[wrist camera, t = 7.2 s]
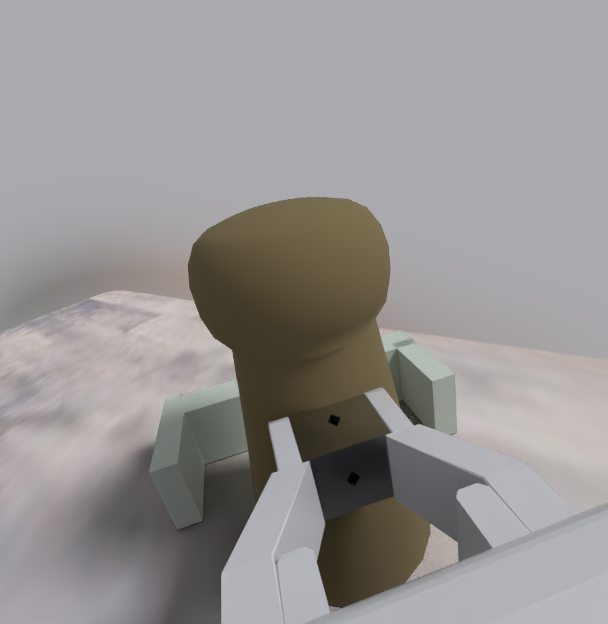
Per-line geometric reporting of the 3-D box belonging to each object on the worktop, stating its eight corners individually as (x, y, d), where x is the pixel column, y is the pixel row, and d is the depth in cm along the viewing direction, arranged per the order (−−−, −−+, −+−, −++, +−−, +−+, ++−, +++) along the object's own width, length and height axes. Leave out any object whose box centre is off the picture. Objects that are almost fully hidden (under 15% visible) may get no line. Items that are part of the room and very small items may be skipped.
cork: (320, 661, 9) (185, 252, 5) (237, 503, 14) (134, 230, 10) (470, 522, 12) (462, 171, 8) (355, 429, 17) (312, 185, 13)
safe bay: (177, 529, 14) (148, 472, 13) (185, 449, 18) (164, 400, 17) (456, 432, 15) (455, 374, 14) (405, 378, 20) (401, 330, 18)
